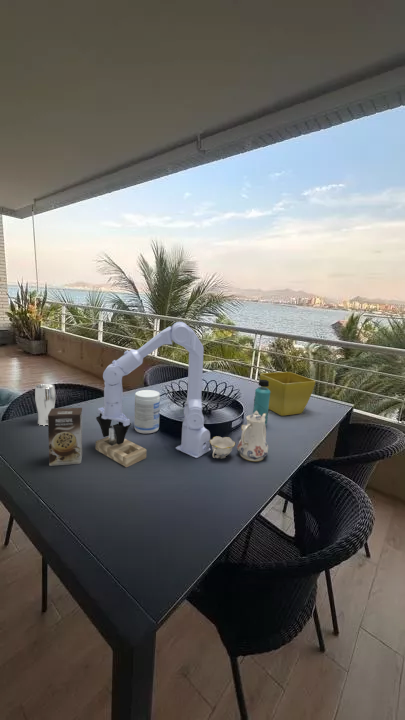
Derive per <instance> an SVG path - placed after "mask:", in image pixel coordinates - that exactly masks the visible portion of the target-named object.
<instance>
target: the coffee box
mask: <svg viewBox="0 0 405 720" xmlns="http://www.w3.org/2000/svg"><path fill="white" fill-rule="evenodd" d="M47 428H48V466H50V467H52V466H53V467H54V466H65V465H78V464H81V463H82V457H83V407H61V408H59V407H58V408H57V407H56V408H55V407H54V408H52V409H51V411H50V412H49V414H48V426H47Z"/></svg>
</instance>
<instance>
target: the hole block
mask: <svg viewBox="0 0 405 720" xmlns="http://www.w3.org/2000/svg"><path fill="white" fill-rule="evenodd" d="M95 450H96V451H97V452H99V453H100V454H103V455H104V456H106V457H107V458H110V459H111V460H113V461H114V462H117V463H118V464H119V465H121V466H123V467H125V468H128V467H130V466H133V465H135V464H136V463H139V462H140V461H142V460H145V459H147V449H146V448H144V447H142V446H141V445H139V444H137V443H134V442H132V441H130V440H128V439H127V438H125V439H124V442H123V443H122V444H119V445H118V444H115V445H112V446H111V445H109V436H106V437H103V438H101V439H98V440H95Z"/></svg>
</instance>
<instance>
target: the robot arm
mask: <svg viewBox="0 0 405 720" xmlns="http://www.w3.org/2000/svg"><path fill="white" fill-rule="evenodd" d="M172 341H173V342H172ZM173 343H175V344H177V345H179V346H181V347H183V348H184V349H185V350H186V351H187V352H188V370H187V373H188V375H187V394H186V395H187V397H186V403H185V405H184V407H183V411H182V412H183V415H184V420H183V422H182V423H181V424H182V427H181V444H180V445H177V446H176V447H175V449H176V450H177V451H180V452H182V453H184V454H187V455H189V456H190V457H193V458H195V459H198V458H200V457H201V456H203V455H205V454H206V453H208V452H210V451H212V450H211V448H210V446H211V444H210V442H209V440H210V439H211V432H210V430H209V429H207V428H206V427H205V426H204V423H205V417H204V416H205V415H204V414H203V403H202V393H203V390H202V389H203V373H204V371H203V369H204V353H205V352H204V349H205V348H204V345H203V344H202V342H201V340H200V338H199V336H197V334H196V333H195V331H194V330H193V329H192V327H190V326H189V325H187V323H185V322H183V321H177V322H175V323H173V324H172V325H171V326H170V325H169V326H168V327H166V328H165V329H164V328H163V330H161V331H160V332H159V333H157V334H156V335H154V336H153V337H152V338H150V339H149V340H148V341H147V342H146V343H144V344H143V345H142V346H140V347H139V348H138V349H130V350H128V349H126V351H124V352H123V355H121V356H120V357H118V359H113V360H112V362H111V363H110V364H109V365H107V367H106V368H105V369H104V371H103V374H102V378H103V381H104V382H103V383H104V387H103V397H104V398H103V399H104V400H103V403H104V404H103V406H102V407H98V408H97V414H98V416H95V417H96V418H95V419H96V421H97V423H98V425H99V427H100V430H101V433H102V437H103V438H106V437H109V427H110V426H113V427H114V429H115V432H116V441H117V444H118V445H119V444H122V443H123V442H124V439H126V435H127V432H128V430H129V429H130V427H131V425H132V423H131V419H130V418H128V417H127V416H126V415H125V413H123V377H124V376H128V375H129V374H130V373H131V372H133V371H135V370H136V369H137V368H138V367H140V366H141V365H143V363H144V358H145V357H147V356H148V355H150V354H151V353H153V352H154V351H155V350H157V349H158V348H160V347H162V346H163V345H173ZM112 421H115V422H118V423H116V424H113V425H112Z"/></svg>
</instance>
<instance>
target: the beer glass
mask: <svg viewBox="0 0 405 720" xmlns="http://www.w3.org/2000/svg"><path fill="white" fill-rule="evenodd" d="M34 389H35V390H34V395H35V396H34V400H35V405H36V410H37V413H38V414H37V416H38V417H37V418H38V419H37V425H38V424H39V425H38V426H40V425H43V426H42V427H46V426H45V425H48V414H49V412H50V411H51V409H52V408H55V406H56V405H55V404H56V389H55V384H53V383H41V384H37V385H35V388H34Z"/></svg>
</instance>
